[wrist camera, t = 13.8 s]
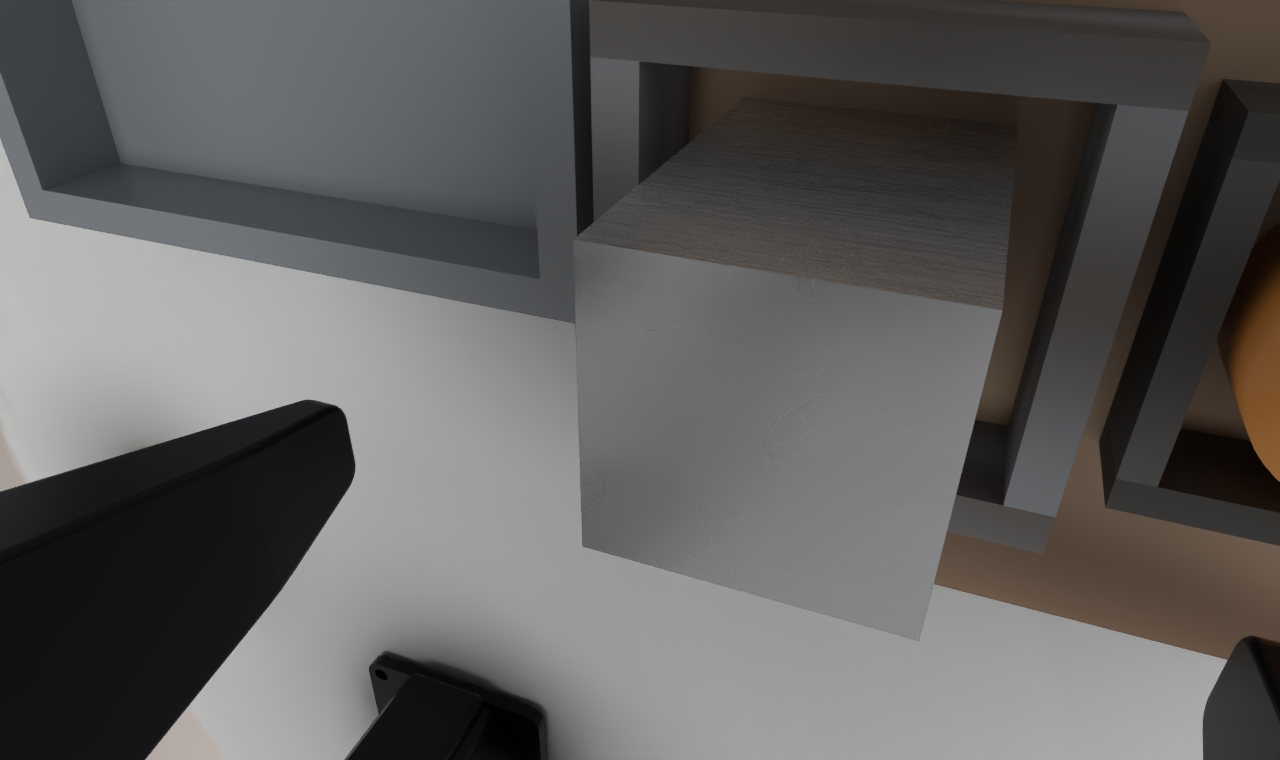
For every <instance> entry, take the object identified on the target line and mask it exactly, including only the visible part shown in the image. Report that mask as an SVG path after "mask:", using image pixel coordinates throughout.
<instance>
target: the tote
mask: <svg viewBox="0 0 1280 760" xmlns="http://www.w3.org/2000/svg"><path fill="white" fill-rule="evenodd" d="M0 138H1V141H2V144H3V146H4V149H5V152H6V154H7V157H8V160H9V163H10V165H11V168H12V171H13V173H14V176H15V179H16V181H17V184H18V187H19V189H20V192H21V195H22V198H23V200H24V203H25V206H26V208H27V211H28V214H29V216H30V218H34V219H39V220H44V221H49V222H54V223H59V224H64V225H70V226H75V227H80V228H85V229H90V230H95V231H101V232H106V233H111V234H116V235H121V236H126V237H132V238H137V239H142V240H147V241H152V242H157V243H163V244H168V245H173V246H178V247H183V248H188V249H194V250H199V251H204V252H209V253H214V254H219V255H225V256H230V257H235V258H240V259H245V260H250V261H256V262H261V263H266V264H271V265H276V266H281V267H287V268H292V269H297V270H302V271H307V272H312V273H317V274H323V275H328V276H333V277H338V278H343V279H348V280H354V281H359V282H364V283H369V284H374V285H379V286H385V287H390V288H395V289H400V290H405V291H410V292H416V293H421V294H426V295H431V296H436V297H441V298H447V299H452V300H457V301H462V302H467V303H472V304H478V305H483V306H488V307H493V308H498V309H503V310H509V311H514V312H519V313H524V314H529V315H534V316H540V317H545V318H550V319H555V320H560V321H565V322H571V323H576V319H575V287H574V255H573V239H574V238H576V237H577V236H578V235H579V234H580V233H582V232H583V231H584V230H585V229H586V228H588V227H589V226H590V225H591V224H592V223H594V213H593V165H592V116H591V68H590V20H589V0H0Z"/></svg>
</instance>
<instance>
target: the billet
mask: <svg viewBox="0 0 1280 760" xmlns="http://www.w3.org/2000/svg"><path fill="white" fill-rule="evenodd" d="M1017 135H1018V126H1017V125H1007V124H998V123H988V122H978V121H968V120H959V119H949V118H939V117H930V116H920V115H910V114H901V113H891V112H881V111H872V110H862V109H852V108H842V107H833V106H823V105H813V104H804V103H794V102H784V101H775V100H765V99H755V98H746V97H744V98H742V99H741V100H740V101H739V102H738V103H736V104H735V105H734V106H733V107H732V108H730V109H729V110H728V111H727V112H726V113H724V114H723V115H722V116H721V117H720V118H718V119H717V120H716V121H715V122H714V123H712V124H711V125H710V126H709V127H708V128H706V129H705V130H704V131H703V132H702V133H700V134H699V135H698V136H697V137H696V138H694V139H693V140H692V141H691V142H690V143H688V144H687V145H686V146H685V147H684V148H682V149H681V150H680V151H679V152H678V153H676V154H675V155H674V156H673V157H672V158H670V159H669V160H668V161H667V162H666V163H664V164H663V165H662V166H661V167H660V168H658V169H657V170H656V171H655V172H654V173H652V174H651V175H650V176H649V177H648V178H646V179H645V180H644V181H643V182H642V183H640V184H639V185H638V186H637V187H636V188H634V189H633V190H632V191H631V192H630V193H628V194H627V195H626V196H625V197H624V198H622V199H621V200H620V201H619V202H618V203H616V204H615V205H614V206H613V207H612V208H610V209H609V210H608V211H607V212H606V213H604V214H603V215H602V216H601V217H600V218H598V219H597V220H596V221H595V222H594V223H592V224H591V225H590V226H589V227H588V228H586V229H585V230H584V231H583V232H582V233H580V234H579V235H578V236H577V237H576V238H574V239H573V255H574V287H575V319H576V352H577V384H578V416H579V448H580V480H581V512H582V545H583V547H587V548H590V549H594V550H597V551H601V552H604V553H608V554H611V555H615V556H619V557H622V558H626V559H629V560H633V561H636V562H640V563H643V564H647V565H651V566H654V567H658V568H661V569H665V570H668V571H672V572H675V573H679V574H683V575H686V576H690V577H693V578H697V579H700V580H704V581H707V582H711V583H715V584H718V585H722V586H725V587H729V588H732V589H736V590H739V591H743V592H747V593H750V594H754V595H757V596H761V597H764V598H768V599H771V600H775V601H779V602H782V603H786V604H789V605H793V606H796V607H800V608H803V609H807V610H811V611H814V612H818V613H821V614H825V615H828V616H832V617H835V618H839V619H843V620H846V621H850V622H853V623H857V624H860V625H864V626H867V627H871V628H875V629H878V630H882V631H885V632H889V633H892V634H896V635H899V636H903V637H907V638H910V639H914V640H917V641H919V640H920V636H921V632H922V628H923V624H924V620H925V616H926V612H927V608H928V604H929V600H930V596H931V592H932V588H933V584H934V580H935V576H936V573H937V569H938V565H939V561H940V557H941V553H942V549H943V545H944V541H945V537H946V533H947V529H948V525H949V521H950V517H951V513H952V509H953V505H954V501H955V497H956V493H957V489H958V485H959V481H960V477H961V473H962V469H963V465H964V461H965V457H966V453H967V449H968V446H969V442H970V438H971V434H972V430H973V426H974V422H975V418H976V414H977V410H978V406H979V402H980V398H981V394H982V390H983V386H984V382H985V378H986V374H987V370H988V366H989V362H990V358H991V354H992V350H993V346H994V342H995V338H996V334H997V330H998V326H999V322H1000V319H1001V315H1002V311H1003V299H1004V288H1005V276H1006V264H1007V252H1008V241H1009V229H1010V217H1011V206H1012V194H1013V182H1014V170H1015V159H1016V147H1017Z"/></svg>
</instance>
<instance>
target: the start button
mask: <svg viewBox="0 0 1280 760" xmlns="http://www.w3.org/2000/svg"><path fill="white" fill-rule="evenodd" d="M1217 342H1218V347H1219V351H1220V356H1221V359H1222V362H1223V365H1224V367H1225V370H1226V373H1227V376H1228V379H1229V382H1230V384H1231V387H1232V390H1233V393H1234V396H1235V399H1236V402H1237V404H1238V407H1239V410H1240V413H1241V416H1242V419H1243V421H1244V424H1245V427H1246V430H1247V433H1248V435H1249V438H1250V440H1251V443H1252V445H1253V448H1254V450H1255V451H1256V453H1257V455H1258V456H1259V458H1260V459H1261V461H1262V463H1263V464H1264V466H1265V467H1266V468H1267V469H1268V470H1269V471H1270V472H1271V473H1272V475H1273V476H1274V477H1275V478H1276V479H1277V480H1278V481H1279V482H1280V224H1279V225H1278V226H1277V227H1275V228H1274V229H1273V230H1271V231H1270V232H1269V233H1268V234H1267V235H1266V236H1265V237H1264V238H1263V239H1262V240H1260V241H1259V242H1258V243H1257V244H1256V245H1255V246H1254V247H1253V249H1252V250H1251V253H1250V255H1249V258H1248V260H1247V263H1246V265H1245V268H1244V270H1243V273H1242V275H1241V278H1240V280H1239V283H1238V286H1237V288H1236V291H1235V293H1234V296H1233V298H1232V301H1231V303H1230V306H1229V308H1228V311H1227V313H1226V316H1225V318H1224V321H1223V323H1222V326H1221V328H1220V331H1219V333H1218V336H1217Z"/></svg>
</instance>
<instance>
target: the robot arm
mask: <svg viewBox="0 0 1280 760" xmlns="http://www.w3.org/2000/svg"><path fill="white" fill-rule="evenodd" d="M354 474H355V459H354V454H353V449H352V444H351V439H350V434H349V429H348V424H347V419H346V416H345V414H344V413H343V411H342V410H341V409H340V408H339V407H337V406H335V405H331V404H327V403H323V402H319V401H315V400H303V401H299V402H296V403H293V404H289V405H286V406H283V407H279V408H276V409H273V410H270V411H266V412H263V413H260V414H256V415H253V416H250V417H246V418H243V419H240V420H236V421H233V422H230V423H226V424H223V425H220V426H216V427H213V428H210V429H207V430H203V431H200V432H197V433H193V434H190V435H187V436H183V437H180V438H177V439H173V440H170V441H167V442H163V443H160V444H157V445H154V446H150V447H147V448H144V449H140V450H137V451H134V452H130V453H127V454H124V455H120V456H117V457H114V458H110V459H107V460H104V461H100V462H97V463H94V464H91V465H87V466H84V467H81V468H77V469H74V470H71V471H67V472H64V473H61V474H57V475H54V476H51V477H47V478H44V479H41V480H38V481H34V482H31V483H28V484H24V485H21V486H18V487H14V488H11V489H8V490H4V491H1V492H0V760H145V759H146V758H147V757H148V755H149V754H150V753H151V752H152V750H153V749H154V748H155V747H156V746H157V744H158V743H159V742H160V741H161V739H162V738H163V737H164V736H165V734H166V733H167V732H168V730H169V729H170V728H171V727H172V726H173V724H174V723H175V722H176V721H177V719H178V718H179V717H180V716H181V714H182V713H183V712H184V711H185V710H186V708H187V707H188V706H189V705H190V703H191V702H192V701H193V700H194V698H195V697H196V696H197V695H198V693H199V692H200V691H201V690H202V688H203V687H204V686H205V685H206V683H207V682H208V681H209V680H210V679H211V677H212V676H213V675H214V674H215V672H216V671H217V670H218V669H219V667H220V666H221V665H222V664H223V662H224V661H225V660H226V659H227V657H228V656H229V655H230V654H231V652H232V651H233V650H234V649H235V647H236V646H237V645H238V644H239V643H240V641H241V640H242V639H243V638H244V636H245V635H246V634H247V633H248V631H249V630H250V629H251V628H252V626H253V625H254V624H255V623H256V621H257V620H258V619H259V618H260V616H261V615H262V614H263V613H264V612H265V610H266V609H267V608H268V607H269V605H270V604H271V603H272V601H273V600H274V599H275V597H276V596H277V595H278V593H279V592H280V591H281V590H282V588H283V587H284V585H285V584H286V582H287V581H288V579H289V578H290V577H291V575H292V574H293V572H294V571H295V569H296V568H297V566H298V565H299V563H300V562H301V560H302V558H303V557H304V555H305V554H306V552H307V551H308V549H309V548H310V546H311V545H312V543H313V542H314V540H315V539H316V537H317V536H318V534H319V533H320V531H321V530H322V528H323V527H324V525H325V523H326V522H327V520H328V519H329V517H330V516H331V514H332V513H333V511H334V510H335V508H336V507H337V505H338V504H339V502H340V501H341V499H342V498H343V496H344V495H345V493H346V491H347V490H348V488H349V487H350V485H351V483H352V480H353V478H354ZM369 672H370V676H371V681H372V685H373V690H374V694H375V699H376V703H377V708H378V712H379V715H378V717H377V718H376V719H375V720H374V722H373V723H372V724H371V726H370V727H369V728H368V730H367V731H366V732H365V733H364V735H363V736H362V737H361V739H360V740H359V741H358V743H357V744H356V745H355V747H354V748H353V749H352V750H351V752H350V753H349V754H348V756H347V757H346V758H345V760H547V747H546V734H545V721H544V718H543V716H542V714H541V713H540V712H539V711H538V710H536V709H535V708H533V707H531V706H529V705H526V704H523V703H520V702H517V701H514V700H511V699H508V698H506V697H503V696H500V695H497V694H494V693H491V692H488V691H485V690H483V689H480V688H477V687H474V686H471V685H468V684H465V683H462V682H459V681H457V680H454V679H451V678H448V677H445V676H442V675H439V674H436V673H434V672H431V671H428V670H425V669H422V668H419V667H416V666H413V665H411V664H408V663H405V662H402V661H399V660H396V659H393V658H390V657H387V656H383V655H381V656H378V657H377V658H376V659H375V661H374V662H373V663H372V664H371V665H370V667H369ZM1203 760H1280V642H1278V641H1274V640H1270V639H1266V638H1262V637H1258V636H1247V637H1244V638H1242V639H1241V640H1240V641H1239V642H1238V643H1237V644H1236V646H1235V648H1234V649H1233V651H1232V653H1231V655H1230V657H1229V659H1228V661H1227V663H1226V665H1225V667H1224V669H1223V671H1222V672H1221V674H1220V676H1219V678H1218V680H1217V682H1216V684H1215V686H1214V688H1213V690H1212V692H1211V694H1210V695H1209V698H1208V700H1207V703H1206V706H1205V711H1204V716H1203Z"/></svg>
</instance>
